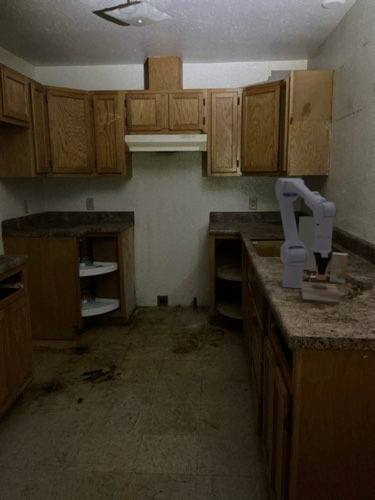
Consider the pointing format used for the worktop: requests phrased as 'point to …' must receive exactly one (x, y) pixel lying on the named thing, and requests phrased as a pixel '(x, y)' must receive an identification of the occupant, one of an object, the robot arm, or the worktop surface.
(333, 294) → the socket block
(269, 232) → the worktop surface
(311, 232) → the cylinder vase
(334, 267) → the skincare box
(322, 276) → the peg
